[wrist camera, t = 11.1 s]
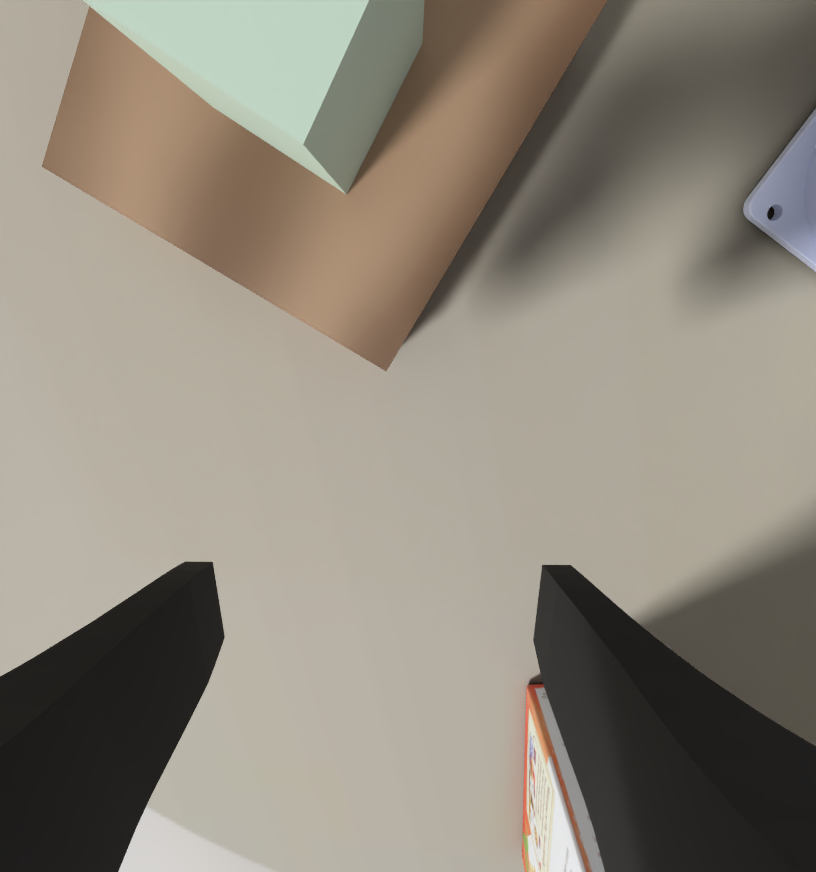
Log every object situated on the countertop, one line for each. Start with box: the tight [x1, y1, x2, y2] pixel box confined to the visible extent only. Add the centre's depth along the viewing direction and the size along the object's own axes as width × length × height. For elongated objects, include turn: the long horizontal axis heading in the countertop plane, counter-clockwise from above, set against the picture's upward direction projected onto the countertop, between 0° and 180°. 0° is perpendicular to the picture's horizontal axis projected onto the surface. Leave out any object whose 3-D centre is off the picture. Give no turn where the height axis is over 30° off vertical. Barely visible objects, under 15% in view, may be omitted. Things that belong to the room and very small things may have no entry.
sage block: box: [83, 0, 424, 195], centre depth 10 cm, size 4×4×6 cm
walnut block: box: [42, 0, 607, 371], centre depth 15 cm, size 12×12×3 cm
